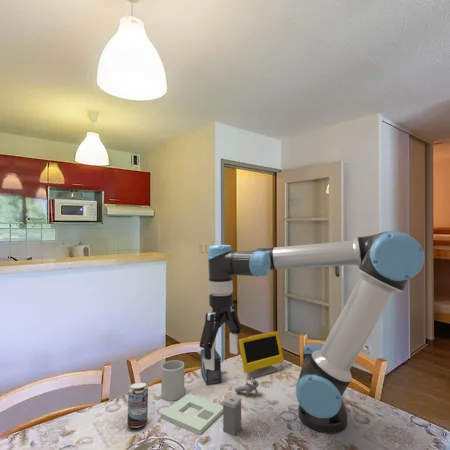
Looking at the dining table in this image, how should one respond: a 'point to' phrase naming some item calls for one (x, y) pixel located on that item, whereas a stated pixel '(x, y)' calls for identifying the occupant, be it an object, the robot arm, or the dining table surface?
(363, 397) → the dining table surface
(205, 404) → the outlet plate
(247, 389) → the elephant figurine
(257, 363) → the toy computer monitor
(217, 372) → the small box
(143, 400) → the beverage can
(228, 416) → the block
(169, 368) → the mug
